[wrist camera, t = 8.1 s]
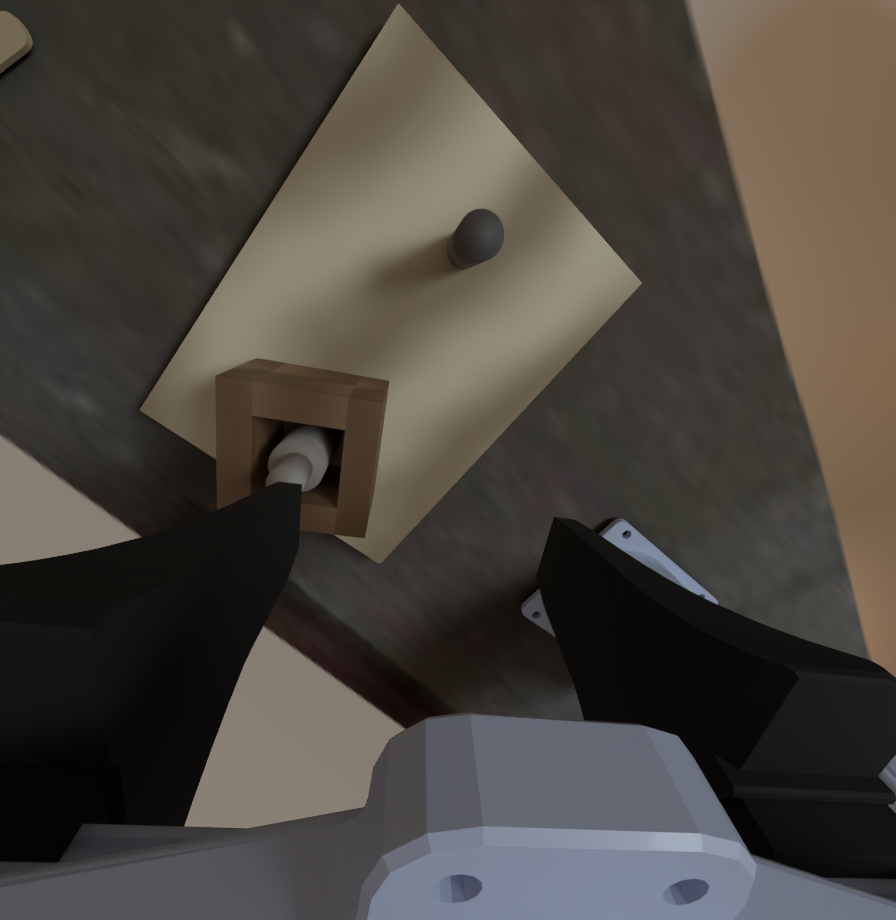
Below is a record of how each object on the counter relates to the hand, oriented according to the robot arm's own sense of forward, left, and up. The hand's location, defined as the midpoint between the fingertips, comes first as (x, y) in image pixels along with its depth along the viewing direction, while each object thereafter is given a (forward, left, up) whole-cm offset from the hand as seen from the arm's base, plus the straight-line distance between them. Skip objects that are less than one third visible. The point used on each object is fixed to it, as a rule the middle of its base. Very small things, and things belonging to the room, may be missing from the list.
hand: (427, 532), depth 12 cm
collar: (+4, +3, -8) cm, 10 cm away
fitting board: (+4, -2, -9) cm, 10 cm away
